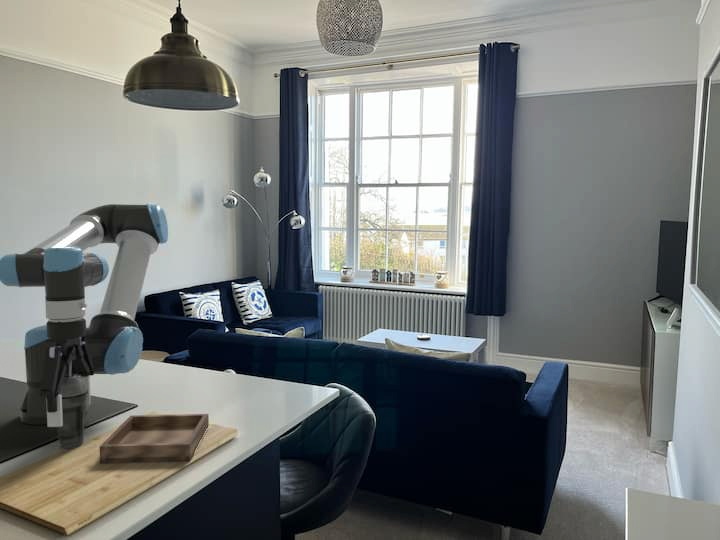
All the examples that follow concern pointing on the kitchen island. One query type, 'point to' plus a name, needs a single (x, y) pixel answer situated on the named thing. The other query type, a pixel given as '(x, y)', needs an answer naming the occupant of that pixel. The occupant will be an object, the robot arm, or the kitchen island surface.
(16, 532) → the kitchen island surface
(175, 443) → the serving tray
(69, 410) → the beverage cup
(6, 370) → the kitchen island surface
